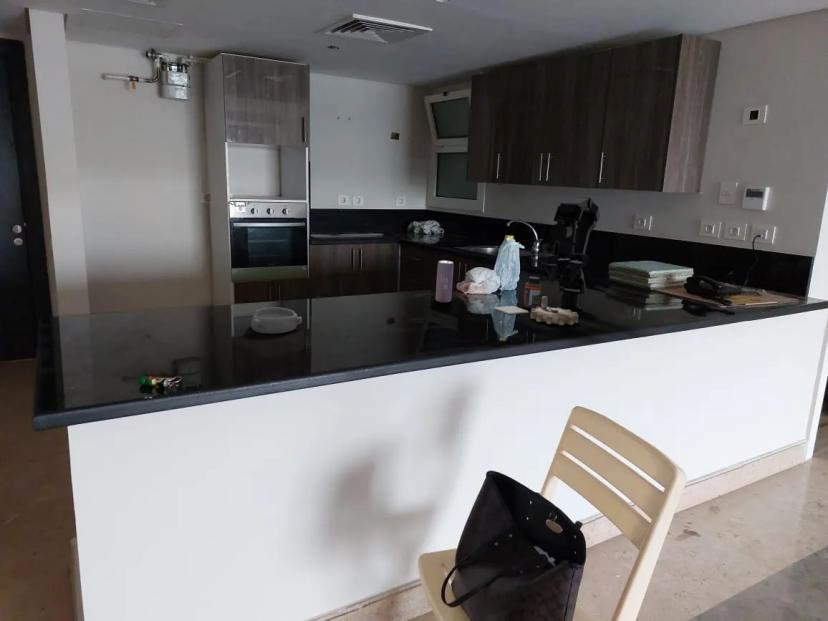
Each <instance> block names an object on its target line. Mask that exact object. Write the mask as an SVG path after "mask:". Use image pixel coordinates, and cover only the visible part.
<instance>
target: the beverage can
mask: <svg viewBox="0 0 828 621" xmlns="http://www.w3.org/2000/svg"><path fill="white" fill-rule="evenodd" d="M453 278H454V262H453V261H450V260H439V261H438V263H437V270H436V283H435V284H436V286H435V300H436V302H439V303H450V302H451V301H452V295H453V294H452V292H453V280H454V279H453Z"/></svg>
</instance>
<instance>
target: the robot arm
mask: <svg viewBox="0 0 828 621" xmlns="http://www.w3.org/2000/svg"><path fill="white" fill-rule="evenodd" d="M600 215H601V213H600V208H599V206H598V205H597V204H596V203H595V202H594V201H593V198H592V197H588V196H587V197H586V196H579V197H577V199H574V200H572V201H564V200H563V201H561V202H560V204H558V206H557V209H556V211H555V214H554V217H553V222H556V223H555V224H554V225H552V226H551V227H550V230H549V234H550V237H551V238H552V240H555V241H554V244H552V245H550V244H549V243H542V245H541V253H540V255H539V256H538V263H541V265H542V266H544V267H545V269H546V272H547V274H548V280H549V283H550V284H552V285H553V284H554V282H555V279H556V275H557V272H558V268H559V265H558V263H559V262H568V266H564V268H563V270H562V274H561V275H560V276H559V277H560V278H559V286H558V287H559V289H558V290H559V292H562V296H561V298H560V299H561V300H560V304H558V308H561V309H564V310H571V311H575V310H582V309H583V308H582V306H580V304H581V295H585V294H586V282H585V275H584V272H583V270H582V269H583V268H584V266H586V264H589V262H590V256H589V255H588V254H587V253H586V251H587V246H588V241H589V238H590V234H591V232H592V231H593V230H594V229H595V228H596V227H597V224H598V222H599V221H600V217H601V216H600ZM576 231H577V232H576Z"/></svg>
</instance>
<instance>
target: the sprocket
mask: <svg viewBox="0 0 828 621" xmlns="http://www.w3.org/2000/svg"><path fill="white" fill-rule="evenodd" d="M548 299H549V297H548V296H545V295H544V296H541V302H540V303H541V304H540V305H541V306H539V307H536V308H530V319H533V320H535V322H538V323H539V322H543V323H546V324H547V325H552V324H555V325H557V324H558V325H559V326H564V325H566V324H567V325H570V326H573V325H574V323H575V324H577V323H578V321H579V314H578V313H577V312H576V311H572V310H568V309H565V308H562V307H556V308H555V307H550V306H548Z"/></svg>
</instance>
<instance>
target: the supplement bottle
mask: <svg viewBox="0 0 828 621" xmlns="http://www.w3.org/2000/svg"><path fill="white" fill-rule="evenodd" d="M540 279H541V278H540V277H538V276H529V277H528V281H527V282H526V283H525V284H524V285H525V286H524V295H523V306H524V307H525V308H526V309H527V308H528V309H532V308H534V309H536V307H540V305H541V304H540V303H541V302H540V301H541V293H542V284H541V283H540Z"/></svg>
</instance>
